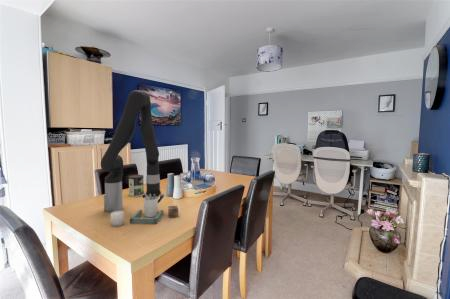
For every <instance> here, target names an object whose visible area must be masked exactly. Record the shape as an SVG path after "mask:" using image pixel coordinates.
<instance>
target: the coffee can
mask: <svg viewBox="0 0 450 299" xmlns="http://www.w3.org/2000/svg"><path fill="white" fill-rule="evenodd" d="M144 184H145V183H144V175H143V174H132V175H129V176H128V196H129V197H132V198H133V197H135V198H136V197H140V196H143V195H144V194H145V189H144V188H145V187H144Z"/></svg>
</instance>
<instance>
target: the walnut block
mask: <svg viewBox="0 0 450 299" xmlns="http://www.w3.org/2000/svg"><path fill="white" fill-rule="evenodd" d="M167 208H168V209H167V211H168V212H167V213H168V214H167V215H168V218H169V219H172V218H178V217H179V207H178V205H169V206H168V207H167Z"/></svg>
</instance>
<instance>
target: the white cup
mask: <svg viewBox="0 0 450 299" xmlns="http://www.w3.org/2000/svg"><path fill="white" fill-rule="evenodd" d="M153 198H154V197H152V200H150V197H149V196H147V197H145V198H143V209H144V216H145V218H155V217H156V216H157V214H158V209H159V203H158V200H159V196H158V197H157V196H156V199H155V200H153Z"/></svg>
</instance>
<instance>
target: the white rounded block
mask: <svg viewBox="0 0 450 299" xmlns="http://www.w3.org/2000/svg"><path fill="white" fill-rule="evenodd" d="M124 213H125V212H124V210H119V211H114V212H110V225H111V227H120V226H123V225H124V224H125V216H124V215H125V214H124Z"/></svg>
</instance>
